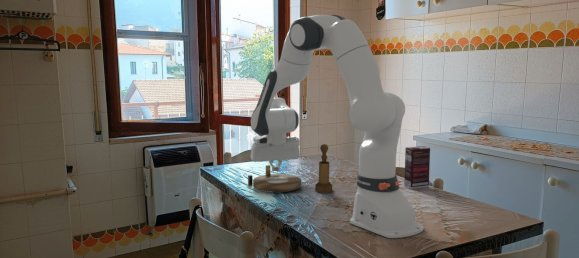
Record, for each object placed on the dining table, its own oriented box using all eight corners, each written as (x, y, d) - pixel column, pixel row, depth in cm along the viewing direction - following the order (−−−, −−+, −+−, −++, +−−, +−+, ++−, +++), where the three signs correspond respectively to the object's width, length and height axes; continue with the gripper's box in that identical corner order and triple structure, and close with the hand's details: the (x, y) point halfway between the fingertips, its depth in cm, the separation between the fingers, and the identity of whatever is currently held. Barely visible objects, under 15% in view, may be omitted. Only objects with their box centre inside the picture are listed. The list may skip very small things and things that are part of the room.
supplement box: (421, 184, 167) (423, 145, 165) (429, 187, 163) (431, 147, 160) (403, 186, 164) (404, 147, 162) (410, 189, 160) (412, 149, 157)
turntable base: (298, 189, 160) (298, 179, 160) (263, 194, 153) (263, 184, 153) (280, 180, 173) (280, 171, 172) (248, 184, 166) (247, 175, 166)
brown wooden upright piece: (331, 193, 155) (332, 146, 152) (314, 192, 156) (314, 145, 153) (333, 188, 161) (333, 143, 159) (316, 187, 162) (317, 142, 160)
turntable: (310, 187, 159) (310, 172, 158) (265, 194, 150) (265, 178, 149) (287, 176, 175) (287, 162, 174) (245, 182, 166) (245, 167, 165)
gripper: (297, 135, 174) (297, 167, 176) (249, 137, 168) (249, 170, 170) (302, 137, 168) (301, 170, 170) (252, 140, 162) (253, 174, 164)
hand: (275, 170), depth 170 cm, fingers closed
